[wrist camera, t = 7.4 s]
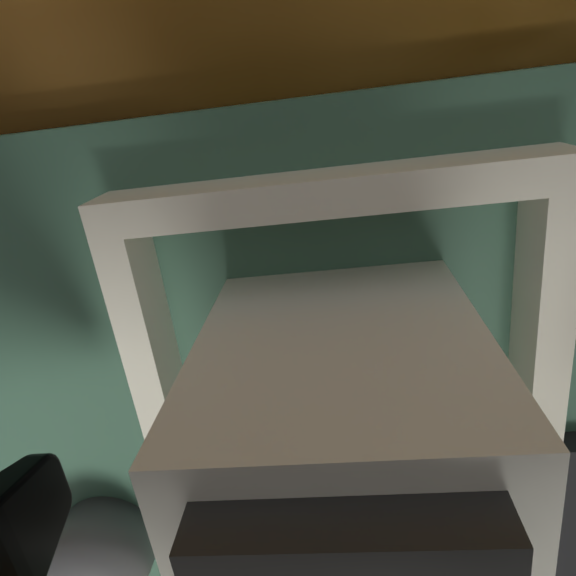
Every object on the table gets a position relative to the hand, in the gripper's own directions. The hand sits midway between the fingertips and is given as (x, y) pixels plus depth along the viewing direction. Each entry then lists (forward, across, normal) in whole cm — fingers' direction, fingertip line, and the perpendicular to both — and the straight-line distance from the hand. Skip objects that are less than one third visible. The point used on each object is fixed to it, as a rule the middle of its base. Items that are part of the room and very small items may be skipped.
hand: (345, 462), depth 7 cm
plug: (+3, 0, 0) cm, 3 cm away
